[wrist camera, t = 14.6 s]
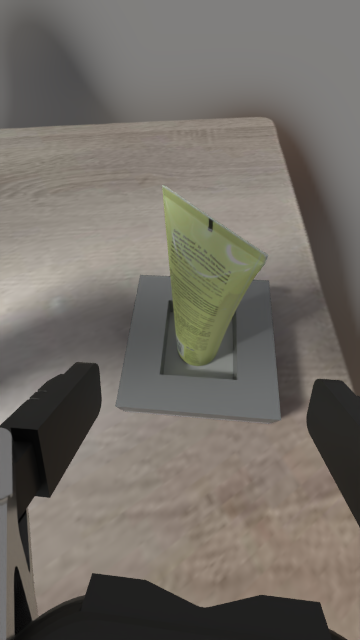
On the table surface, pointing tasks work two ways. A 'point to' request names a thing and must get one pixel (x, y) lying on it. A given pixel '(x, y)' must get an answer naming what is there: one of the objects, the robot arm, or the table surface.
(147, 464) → the table surface
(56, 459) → the robot arm
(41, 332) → the table surface
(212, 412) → the holder
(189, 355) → the tube
